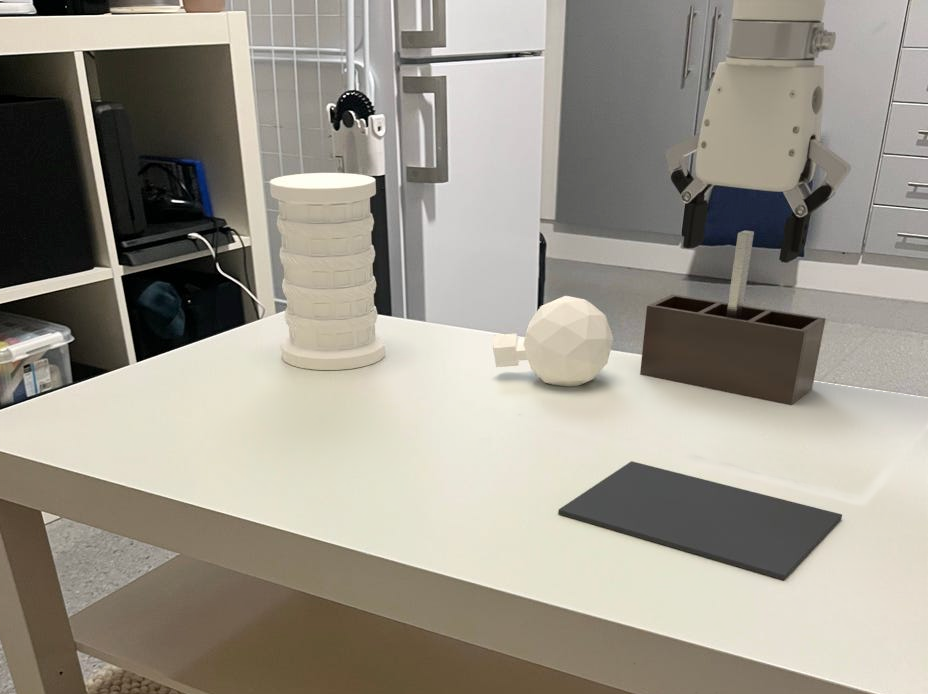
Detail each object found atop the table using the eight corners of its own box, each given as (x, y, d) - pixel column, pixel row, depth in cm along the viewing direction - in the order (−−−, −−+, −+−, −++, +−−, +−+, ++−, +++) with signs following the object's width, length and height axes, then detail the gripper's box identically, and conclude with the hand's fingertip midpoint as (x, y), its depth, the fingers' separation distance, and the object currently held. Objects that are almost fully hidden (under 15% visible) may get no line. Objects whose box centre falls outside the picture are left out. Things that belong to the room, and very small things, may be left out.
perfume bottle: (615, 352, 108) (504, 362, 110) (611, 274, 101) (492, 285, 103) (615, 403, 102) (497, 411, 104) (610, 323, 95) (485, 334, 98)
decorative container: (406, 350, 115) (401, 178, 105) (339, 377, 107) (327, 192, 97) (329, 334, 121) (318, 169, 111) (260, 358, 113) (242, 182, 103)
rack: (664, 366, 110) (672, 294, 106) (811, 394, 102) (826, 318, 98) (639, 379, 106) (646, 305, 102) (790, 410, 98) (804, 331, 94)
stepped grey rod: (735, 378, 104) (757, 230, 97) (722, 386, 102) (744, 235, 94) (726, 376, 105) (747, 228, 97) (713, 384, 103) (734, 234, 95)
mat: (841, 519, 77) (842, 514, 77) (783, 580, 69) (785, 575, 69) (630, 465, 86) (631, 460, 86) (558, 514, 78) (558, 509, 78)
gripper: (886, 48, 86) (842, 258, 95) (698, 41, 94) (673, 235, 104) (858, 50, 81) (814, 273, 90) (661, 43, 89) (639, 247, 99)
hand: (739, 252), depth 97 cm, fingers open, 9 cm apart
